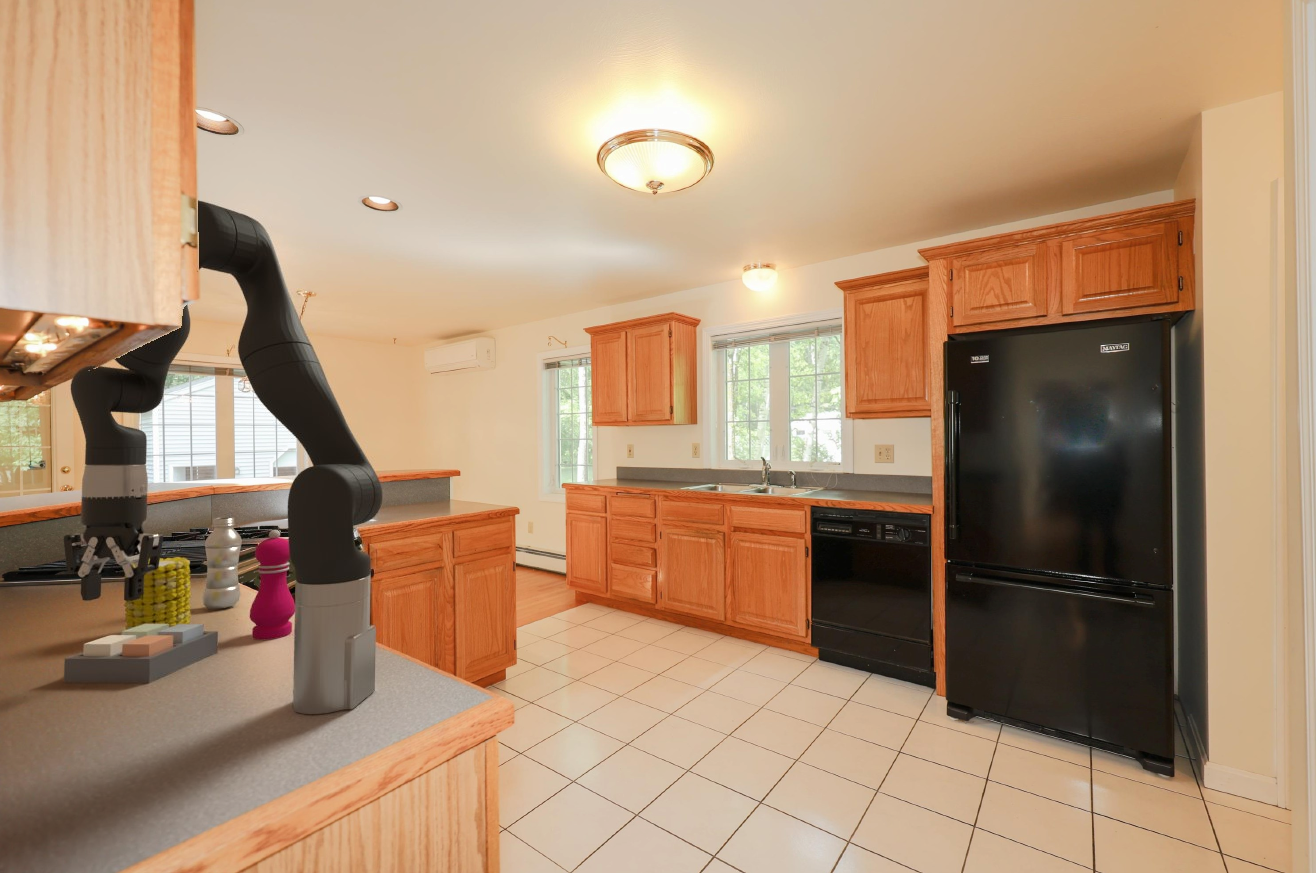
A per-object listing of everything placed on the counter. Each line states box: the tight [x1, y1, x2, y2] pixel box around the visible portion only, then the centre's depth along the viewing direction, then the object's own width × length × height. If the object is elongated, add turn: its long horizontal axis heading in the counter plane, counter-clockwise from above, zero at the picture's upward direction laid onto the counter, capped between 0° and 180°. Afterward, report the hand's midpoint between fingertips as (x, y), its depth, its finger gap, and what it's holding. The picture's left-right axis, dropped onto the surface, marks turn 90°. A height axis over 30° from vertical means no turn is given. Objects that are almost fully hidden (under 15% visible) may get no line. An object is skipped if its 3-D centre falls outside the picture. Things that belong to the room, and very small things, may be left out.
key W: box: [120, 624, 169, 639], centre depth 94 cm, size 4×4×3 cm
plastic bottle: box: [202, 517, 243, 610], centre depth 126 cm, size 6×7×20 cm
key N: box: [83, 634, 136, 656], centre depth 88 cm, size 4×4×3 cm
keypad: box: [63, 630, 219, 684], centre depth 91 cm, size 13×13×4 cm
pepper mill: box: [249, 529, 295, 641], centre depth 107 cm, size 7×7×20 cm
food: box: [123, 556, 192, 630], centre depth 108 cm, size 15×12×10 cm
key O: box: [157, 623, 205, 643], centre depth 94 cm, size 4×4×3 cm
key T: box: [122, 635, 173, 656], centre depth 88 cm, size 4×4×3 cm
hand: (112, 599), depth 89 cm, fingers open, 6 cm apart
